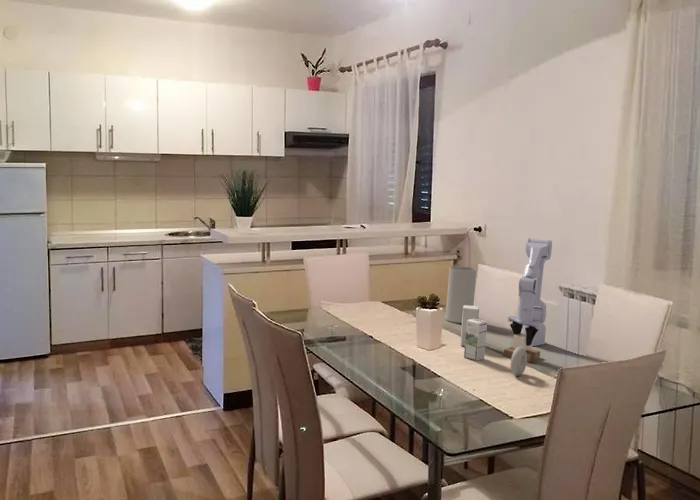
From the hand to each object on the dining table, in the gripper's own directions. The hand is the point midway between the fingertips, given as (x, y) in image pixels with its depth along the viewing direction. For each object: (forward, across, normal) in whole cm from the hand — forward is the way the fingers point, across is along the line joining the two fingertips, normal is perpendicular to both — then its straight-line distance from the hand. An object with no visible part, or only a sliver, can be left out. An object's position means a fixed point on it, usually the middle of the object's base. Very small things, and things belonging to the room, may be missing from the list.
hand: (522, 343), depth 253 cm
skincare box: (+5, -22, -6) cm, 23 cm away
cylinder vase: (+5, -55, +23) cm, 60 cm away
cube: (+2, 0, 0) cm, 2 cm away
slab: (+6, 0, 0) cm, 6 cm away
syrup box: (+5, -7, -19) cm, 21 cm away
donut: (+5, +15, -21) cm, 26 cm away
